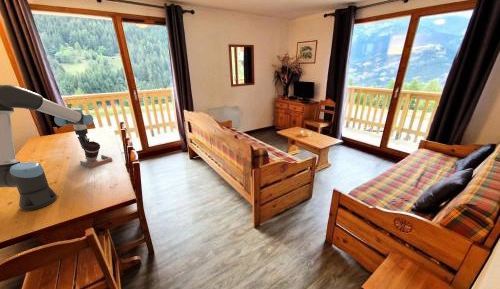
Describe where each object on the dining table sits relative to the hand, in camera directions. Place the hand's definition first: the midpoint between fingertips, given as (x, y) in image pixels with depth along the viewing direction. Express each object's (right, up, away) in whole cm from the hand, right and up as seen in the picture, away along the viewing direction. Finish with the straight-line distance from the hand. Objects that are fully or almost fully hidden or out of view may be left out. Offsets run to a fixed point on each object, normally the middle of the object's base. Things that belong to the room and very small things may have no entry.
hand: (88, 157), depth 168 cm
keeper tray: (+10, -4, -5) cm, 12 cm away
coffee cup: (+4, -1, -2) cm, 4 cm away
